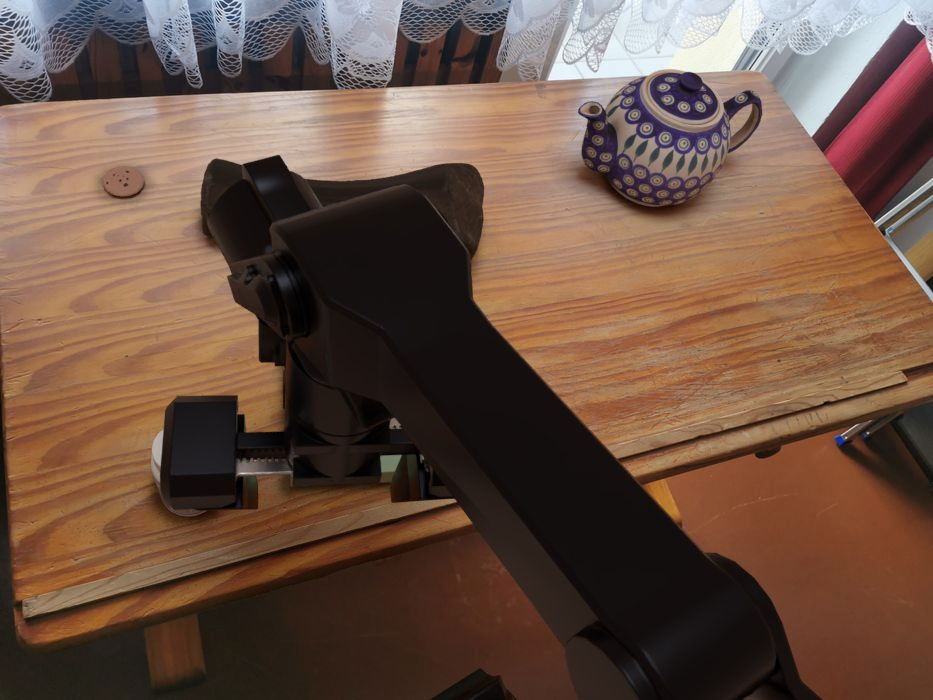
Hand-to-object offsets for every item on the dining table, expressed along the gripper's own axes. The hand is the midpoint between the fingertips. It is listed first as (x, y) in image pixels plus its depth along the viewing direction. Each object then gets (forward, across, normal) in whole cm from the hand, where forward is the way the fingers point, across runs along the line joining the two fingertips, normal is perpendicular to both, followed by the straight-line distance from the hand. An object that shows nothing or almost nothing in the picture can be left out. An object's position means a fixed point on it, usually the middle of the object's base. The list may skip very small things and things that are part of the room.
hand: (325, 498), depth 53 cm
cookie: (+12, +18, -39) cm, 45 cm away
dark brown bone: (+12, -4, -33) cm, 35 cm away
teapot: (+12, -40, -44) cm, 61 cm away
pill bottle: (+12, +10, -6) cm, 17 cm away
